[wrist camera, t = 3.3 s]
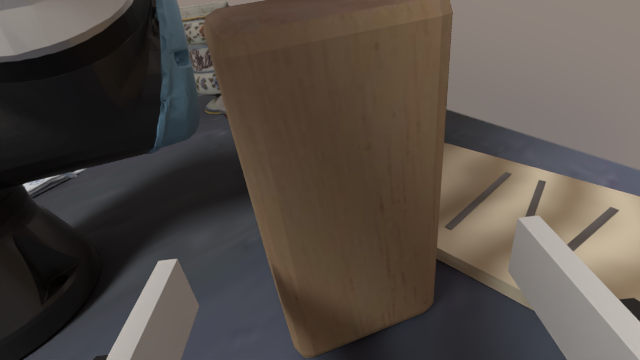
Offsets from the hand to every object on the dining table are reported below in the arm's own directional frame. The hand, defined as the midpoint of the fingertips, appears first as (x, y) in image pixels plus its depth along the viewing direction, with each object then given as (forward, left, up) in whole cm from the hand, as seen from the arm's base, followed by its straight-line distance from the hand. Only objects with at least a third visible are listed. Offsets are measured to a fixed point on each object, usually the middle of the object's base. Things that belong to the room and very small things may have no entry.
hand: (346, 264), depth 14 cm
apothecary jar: (-56, +22, -11) cm, 61 cm away
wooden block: (-7, +5, -11) cm, 14 cm away
